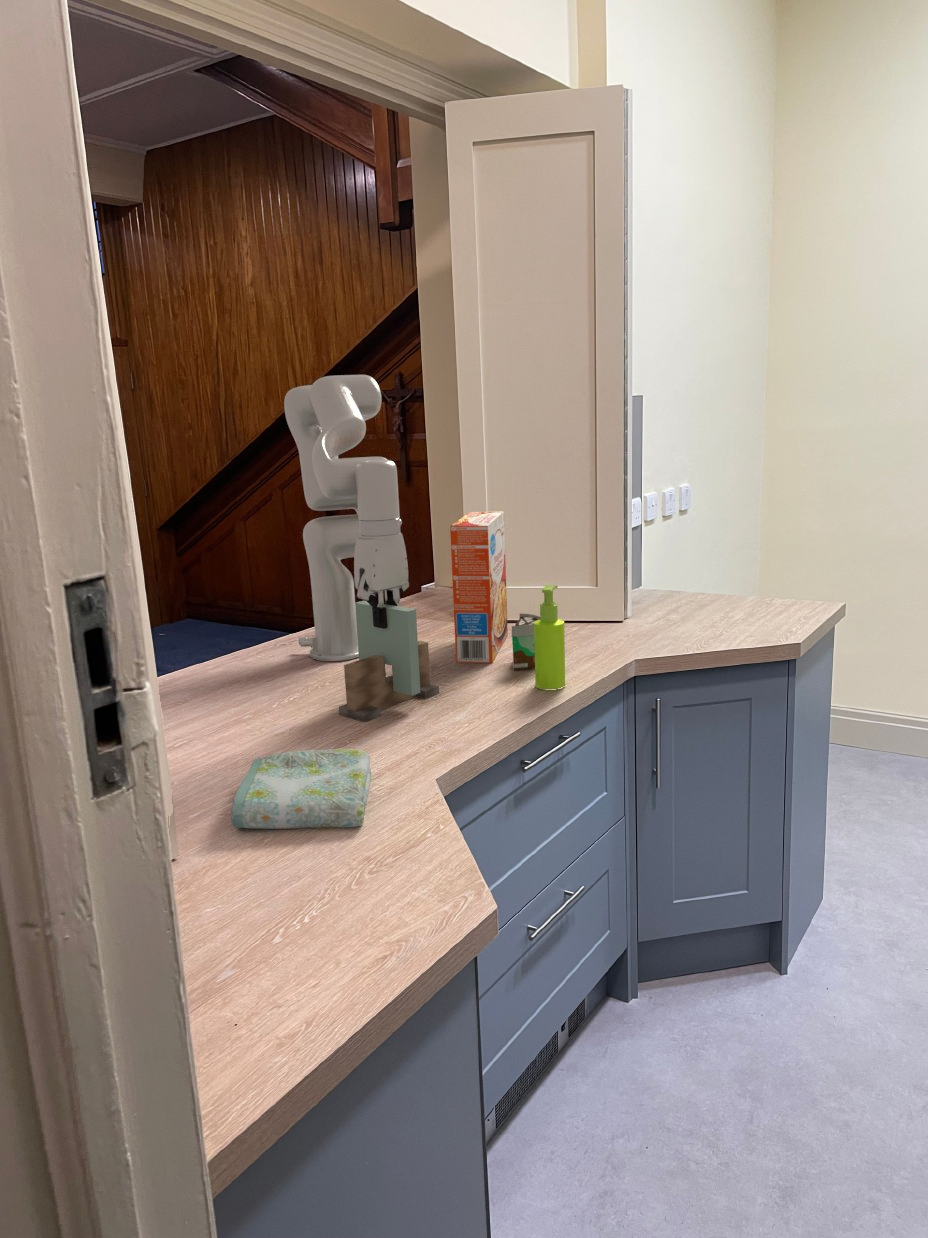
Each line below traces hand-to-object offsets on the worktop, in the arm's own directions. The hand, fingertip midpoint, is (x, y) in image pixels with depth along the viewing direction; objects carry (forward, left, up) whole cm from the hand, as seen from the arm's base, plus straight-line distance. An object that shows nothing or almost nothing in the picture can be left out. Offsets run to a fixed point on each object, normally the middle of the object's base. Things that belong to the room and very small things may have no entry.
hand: (385, 625), depth 177 cm
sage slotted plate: (0, 0, -12) cm, 12 cm away
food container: (+25, +26, -16) cm, 39 cm away
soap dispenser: (+30, +12, -16) cm, 36 cm away
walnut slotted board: (0, 0, -16) cm, 16 cm away
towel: (-3, -44, -16) cm, 47 cm away
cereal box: (+13, +39, -16) cm, 44 cm away
